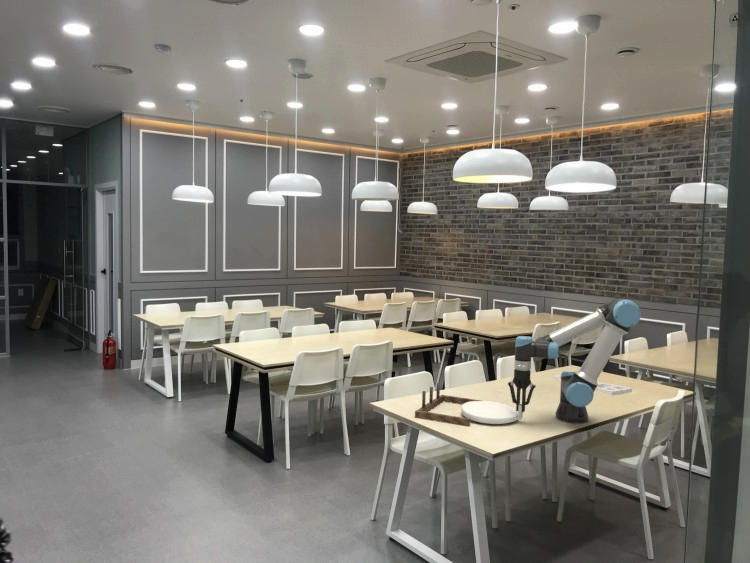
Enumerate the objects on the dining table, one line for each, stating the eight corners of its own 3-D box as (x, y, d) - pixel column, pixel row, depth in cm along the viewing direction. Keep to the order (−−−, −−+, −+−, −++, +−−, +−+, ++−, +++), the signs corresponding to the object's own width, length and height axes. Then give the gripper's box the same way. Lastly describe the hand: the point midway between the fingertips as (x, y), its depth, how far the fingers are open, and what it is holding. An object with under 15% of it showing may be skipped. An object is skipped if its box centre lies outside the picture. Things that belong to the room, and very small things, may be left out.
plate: (529, 414, 273) (480, 419, 264) (528, 427, 274) (479, 432, 265) (497, 393, 299) (451, 397, 289) (496, 405, 300) (450, 409, 290)
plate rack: (490, 407, 300) (491, 386, 299) (468, 426, 267) (469, 402, 266) (441, 400, 312) (442, 380, 312) (414, 417, 279) (415, 394, 279)
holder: (552, 380, 371) (552, 375, 371) (571, 377, 380) (571, 373, 380) (612, 396, 332) (612, 391, 332) (632, 393, 341) (632, 388, 341)
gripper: (506, 368, 273) (504, 418, 274) (534, 372, 267) (532, 422, 269) (510, 366, 280) (508, 414, 281) (538, 369, 274) (535, 418, 275)
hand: (520, 418), depth 275 cm, fingers closed
